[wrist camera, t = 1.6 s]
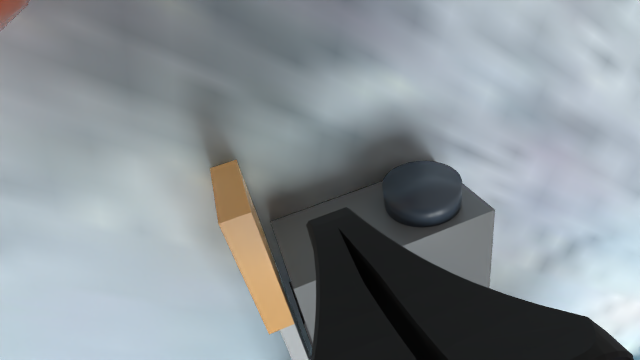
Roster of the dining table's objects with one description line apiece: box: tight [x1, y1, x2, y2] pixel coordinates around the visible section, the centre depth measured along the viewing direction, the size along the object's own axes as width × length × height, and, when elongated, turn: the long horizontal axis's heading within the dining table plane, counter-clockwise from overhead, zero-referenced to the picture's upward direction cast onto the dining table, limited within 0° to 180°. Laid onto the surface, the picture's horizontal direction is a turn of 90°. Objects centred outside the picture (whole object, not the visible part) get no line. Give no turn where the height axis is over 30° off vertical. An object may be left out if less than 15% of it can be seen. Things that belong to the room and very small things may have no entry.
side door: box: [210, 160, 311, 360], centre depth 17 cm, size 15×1×4 cm, turn 12°
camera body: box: [271, 161, 495, 347], centre depth 18 cm, size 13×8×5 cm, turn 12°
